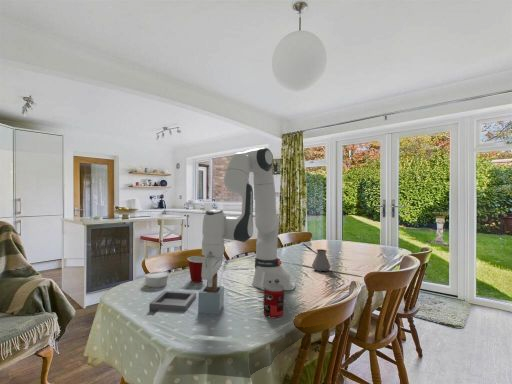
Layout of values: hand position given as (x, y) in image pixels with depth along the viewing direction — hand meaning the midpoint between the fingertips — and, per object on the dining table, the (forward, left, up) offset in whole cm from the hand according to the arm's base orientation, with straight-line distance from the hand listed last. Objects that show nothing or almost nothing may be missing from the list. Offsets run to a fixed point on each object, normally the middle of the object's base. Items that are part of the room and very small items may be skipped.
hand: (211, 284), depth 113 cm
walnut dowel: (0, 0, -10) cm, 10 cm away
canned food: (-25, -2, -11) cm, 28 cm away
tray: (+17, -4, -11) cm, 21 cm away
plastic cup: (+17, -37, -11) cm, 42 cm away
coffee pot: (-50, -74, -11) cm, 90 cm away
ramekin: (+35, -27, -11) cm, 46 cm away
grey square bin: (0, 0, -11) cm, 11 cm away
